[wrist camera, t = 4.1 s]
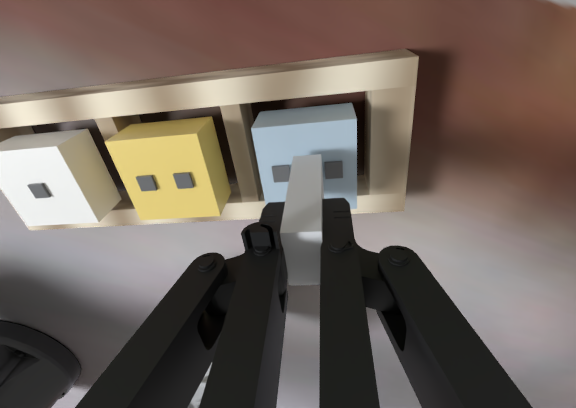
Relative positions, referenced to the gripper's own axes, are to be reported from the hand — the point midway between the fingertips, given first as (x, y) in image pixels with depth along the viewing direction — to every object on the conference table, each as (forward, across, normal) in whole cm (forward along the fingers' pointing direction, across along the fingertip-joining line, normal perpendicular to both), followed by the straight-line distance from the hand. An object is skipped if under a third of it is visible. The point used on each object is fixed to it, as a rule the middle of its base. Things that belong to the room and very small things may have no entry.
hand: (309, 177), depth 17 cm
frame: (+7, -9, 0) cm, 11 cm away
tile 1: (+4, -18, 0) cm, 18 cm away
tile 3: (+4, 0, 0) cm, 4 cm away
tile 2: (+4, -9, 0) cm, 10 cm away
